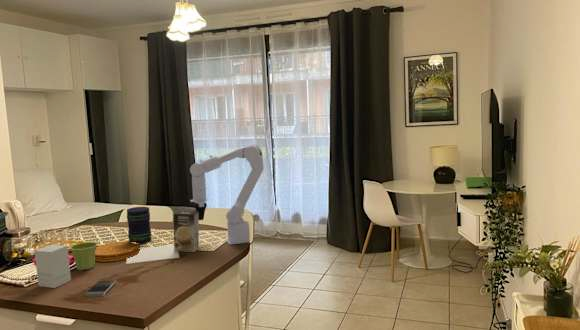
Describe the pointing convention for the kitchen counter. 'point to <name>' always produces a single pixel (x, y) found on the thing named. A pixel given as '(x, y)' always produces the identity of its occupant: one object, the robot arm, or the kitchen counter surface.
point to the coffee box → (186, 231)
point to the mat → (154, 254)
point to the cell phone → (100, 288)
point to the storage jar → (139, 225)
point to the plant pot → (84, 255)
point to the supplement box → (52, 266)
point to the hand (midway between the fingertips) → (200, 219)
